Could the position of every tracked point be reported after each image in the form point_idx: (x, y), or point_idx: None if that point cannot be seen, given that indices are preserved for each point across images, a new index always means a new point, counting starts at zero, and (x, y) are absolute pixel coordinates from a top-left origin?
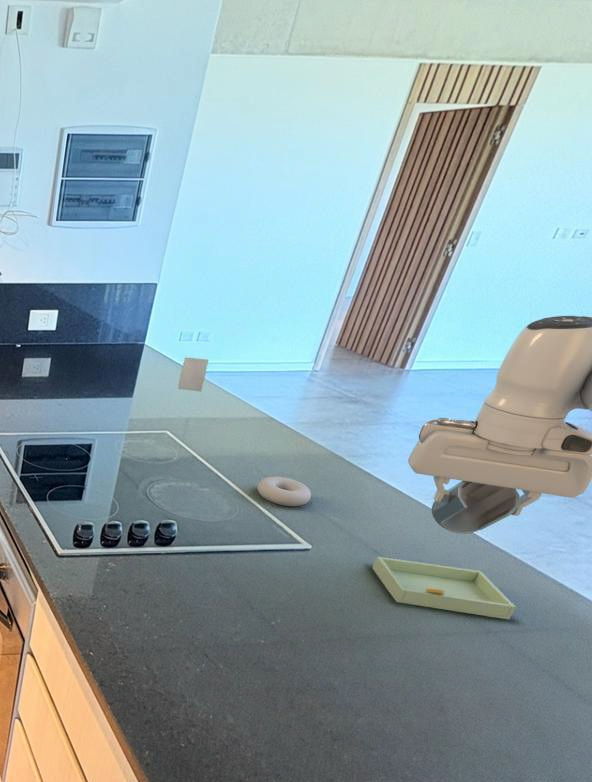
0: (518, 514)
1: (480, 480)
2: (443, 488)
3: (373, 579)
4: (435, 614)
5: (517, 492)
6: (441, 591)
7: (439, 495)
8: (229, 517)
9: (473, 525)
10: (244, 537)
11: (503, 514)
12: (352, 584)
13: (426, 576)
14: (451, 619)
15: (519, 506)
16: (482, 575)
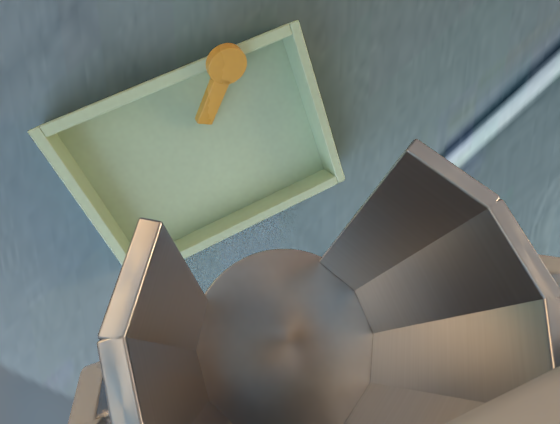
0: (85, 368)
1: (550, 416)
2: (552, 268)
3: (327, 115)
4: (200, 20)
5: None
6: (217, 50)
7: None
8: (550, 192)
9: (225, 307)
10: (539, 124)
11: (172, 269)
12: (368, 52)
13: (232, 205)
14: (164, 19)
15: (93, 418)
16: None
